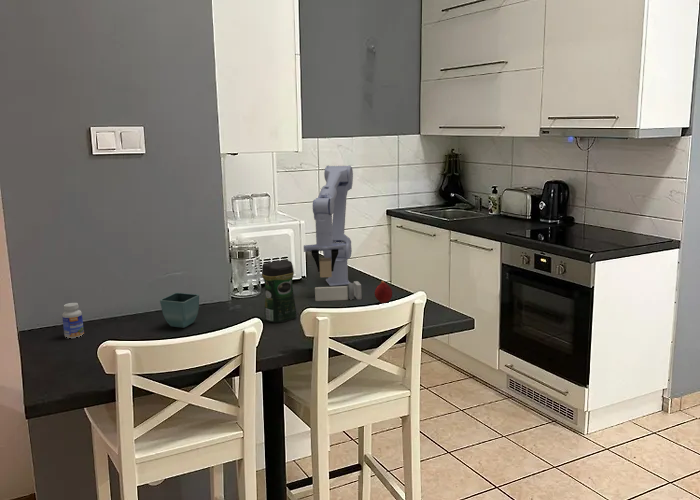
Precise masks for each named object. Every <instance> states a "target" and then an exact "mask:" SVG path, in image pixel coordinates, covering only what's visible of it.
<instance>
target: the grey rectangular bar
mask: <svg viewBox="0 0 700 500" xmlns="http://www.w3.org/2000/svg"><path fill="white" fill-rule="evenodd" d="M314 295H315V296H314V298H315V299H314V300H315V302H323V301H324V302H326V301H327V302H330V301H348V300H349V291H348V285H339V286H318V287H317V286H316V287H314Z"/></svg>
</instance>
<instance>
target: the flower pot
mask: <svg viewBox="0 0 700 500" xmlns="http://www.w3.org/2000/svg"><path fill="white" fill-rule="evenodd" d="M159 303H160V306H161V312H162V315H163V317H164V319H165V321H166V323H167V324H168V325H169V326H170V327H175V328H183V329H185V328H187V327H189V326H190V325H192V324H194V323H195V320H196V319H197V317H198V315H199V308H200V294H197V293H196V294H195V293H194V294H193V293H187V292H186V293H184V292H174V293H172V294H170V295H168V296H166V297H163V298H161V299H160V300H159Z"/></svg>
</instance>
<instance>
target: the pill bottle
mask: <svg viewBox="0 0 700 500" xmlns="http://www.w3.org/2000/svg"><path fill="white" fill-rule="evenodd" d="M79 307H80V305H79V303H78V302H69V303H65V304H64V305H63V310H64V311H63V312H62V314H61V316H62V324H63V327H62V328H63V334H64V337H65V338H66V337H67V338H66V339H69V338H71V339H77V338H76V337H78V338H81V337H83V336H84V335H85V329H84V321H83V313H82V311H81V309H79ZM83 334H84V335H83ZM82 335H83V336H82ZM80 336H81V337H80Z"/></svg>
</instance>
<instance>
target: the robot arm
mask: <svg viewBox="0 0 700 500" xmlns="http://www.w3.org/2000/svg"><path fill="white" fill-rule="evenodd" d="M323 175H324V180H325V185H323V186H322V187H321V189H320V191H319V193H318V195H317V197H315V199H314V198H313V200H312V213H313V218H314V222H315V242H316V244H308V245H307V244H305V245H303V252H305V253H306V252H311V256H312V258H313V260H314V262H315V265H316V268H317V272H318V273H320V263H319V261H320V252H322V255H323V258H331V271H332V277H327V278H325V281H326V283H327V284H328V285H329V287H337V286H348V284H349V283H351V281H350V280H349V272H348V269H349V268H348V267H349V266H348V260H349V259H351V256H352V240H351V238H350V237H348V236H347V235H346V234H345V230H346V227H345V225H346V211H347V199H348V197H347V195H348V192H349V191H351V190H352V187H353V182H354V180H353V179H354V171H353V167H352V166H351V165H326V166H325V167H324V172H323Z"/></svg>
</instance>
